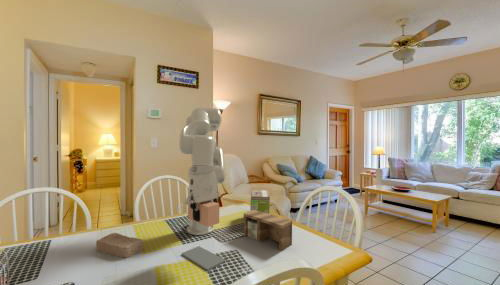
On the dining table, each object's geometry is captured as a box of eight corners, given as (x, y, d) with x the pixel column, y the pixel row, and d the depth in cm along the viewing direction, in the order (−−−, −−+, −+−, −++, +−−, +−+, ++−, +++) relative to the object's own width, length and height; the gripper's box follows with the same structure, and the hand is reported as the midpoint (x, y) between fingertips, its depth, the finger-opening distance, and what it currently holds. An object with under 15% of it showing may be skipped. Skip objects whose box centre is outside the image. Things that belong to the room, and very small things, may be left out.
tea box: (269, 225, 121) (270, 196, 120) (250, 225, 121) (250, 196, 120) (268, 215, 136) (268, 189, 135) (250, 215, 136) (250, 189, 135)
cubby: (243, 235, 108) (243, 213, 108) (254, 230, 113) (254, 209, 113) (282, 250, 94) (282, 225, 94) (291, 244, 99) (292, 220, 99)
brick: (144, 249, 95) (144, 237, 95) (126, 259, 87) (126, 246, 87) (114, 242, 101) (113, 231, 101) (95, 251, 93) (94, 240, 93)
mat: (181, 254, 91) (181, 253, 91) (198, 247, 96) (198, 246, 96) (207, 271, 80) (207, 269, 80) (225, 261, 86) (225, 260, 86)
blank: (208, 226, 82) (208, 206, 82) (187, 218, 90) (187, 200, 89) (219, 222, 86) (219, 203, 85) (198, 215, 93) (198, 197, 93)
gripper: (188, 173, 78) (188, 227, 79) (227, 168, 91) (226, 215, 92) (176, 170, 83) (176, 222, 84) (214, 166, 96) (214, 210, 97)
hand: (202, 217), depth 88 cm, fingers closed on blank, 5 cm apart
